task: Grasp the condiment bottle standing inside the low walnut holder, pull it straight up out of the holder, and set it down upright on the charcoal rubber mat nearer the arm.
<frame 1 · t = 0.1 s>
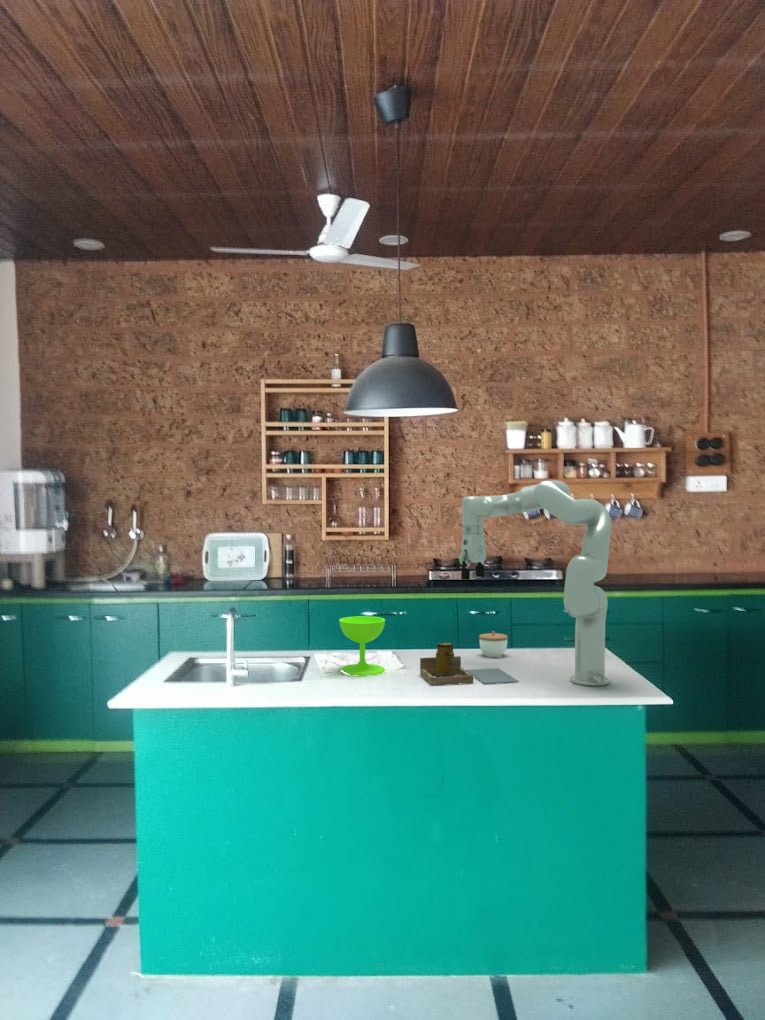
hand: (472, 578, 305), 31 cm above the countertop, tool pointing down, fingers open, 9 cm apart
mat: (491, 676, 286), on the countertop
lidded jar: (493, 656, 320), on the countertop
holder: (446, 679, 282), on the countertop
condiment: (446, 680, 282), resting in holder
wineglass: (362, 671, 295), on the countertop
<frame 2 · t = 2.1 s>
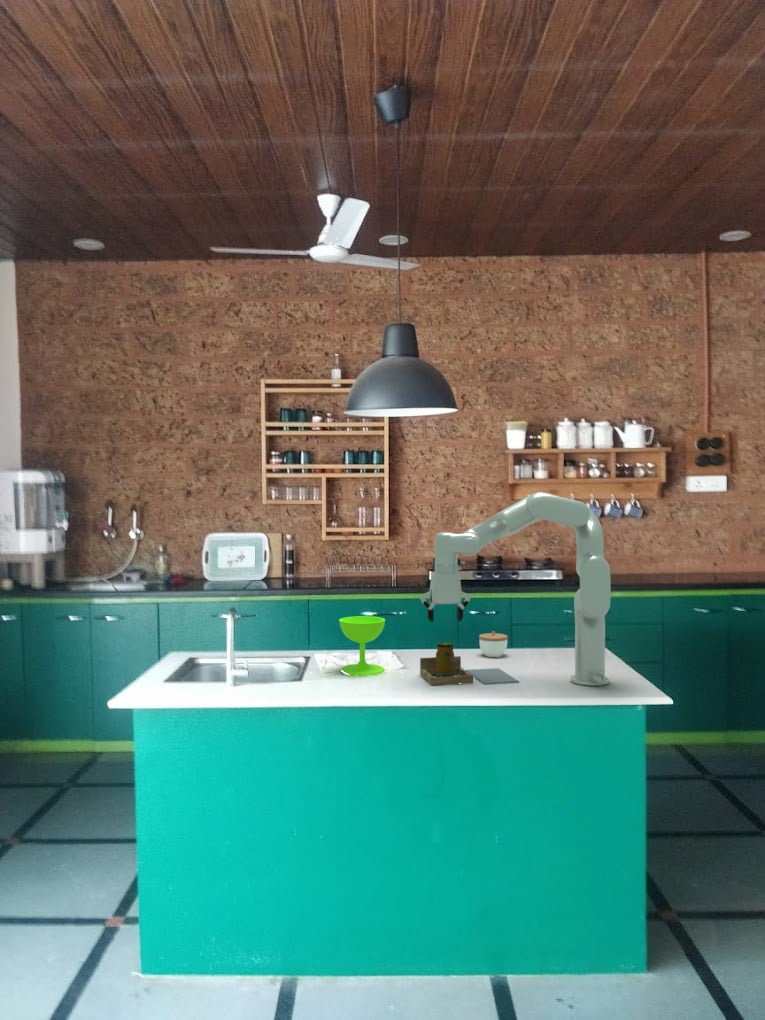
hand: (445, 621, 281), 20 cm above the countertop, tool pointing down, fingers open, 9 cm apart
nothing on the countertop moved.
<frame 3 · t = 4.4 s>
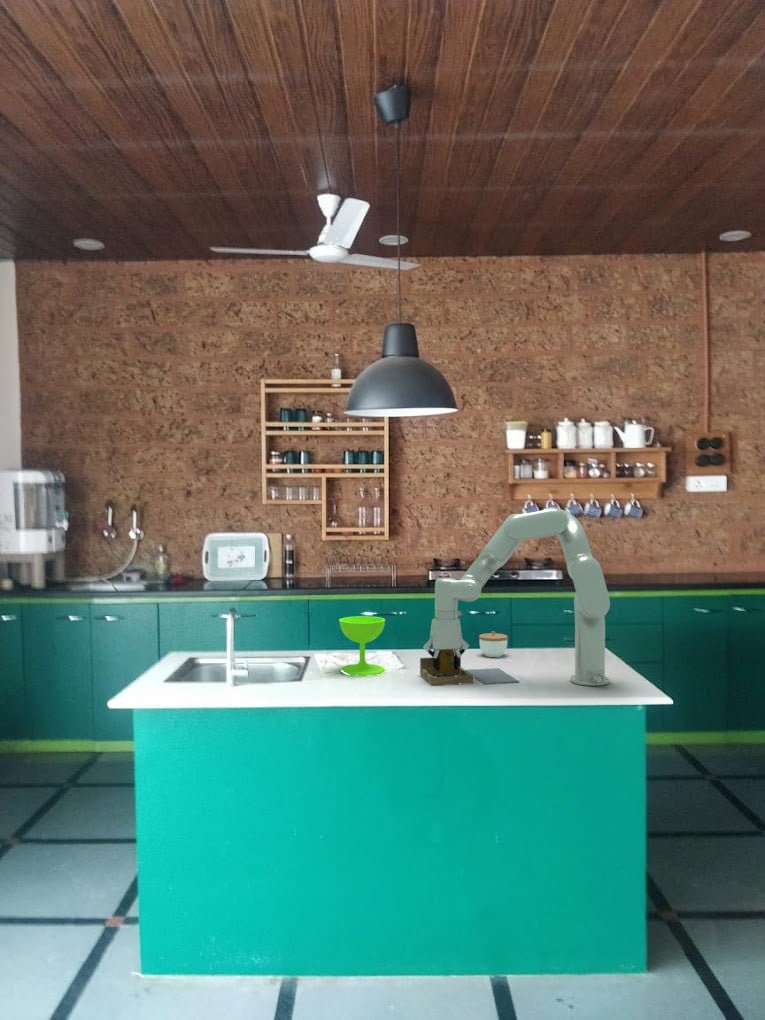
hand: (446, 668, 281), 4 cm above the countertop, tool pointing down, fingers closed on condiment, 6 cm apart
condiment: (446, 680, 282), resting in holder, touching gripper
everything else where it was.
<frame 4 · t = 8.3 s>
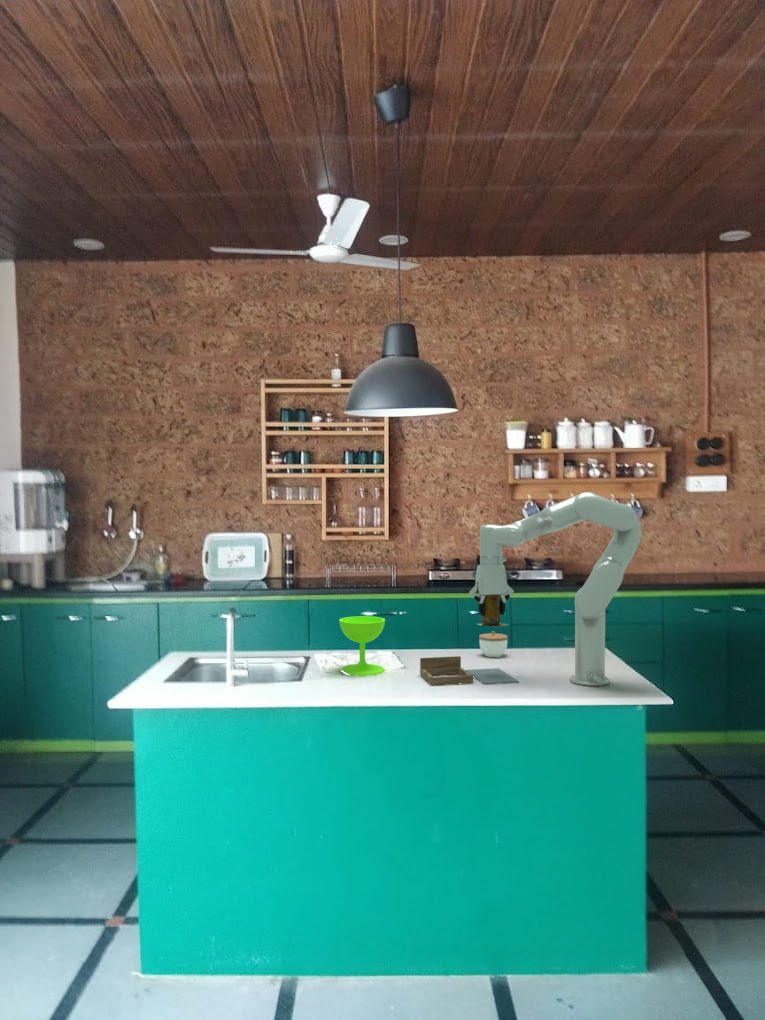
hand: (491, 614, 285), 21 cm above the countertop, tool pointing down, fingers closed on condiment, 6 cm apart
condiment: (492, 625, 285), point 17 cm above the countertop, touching gripper
everything else where it was.
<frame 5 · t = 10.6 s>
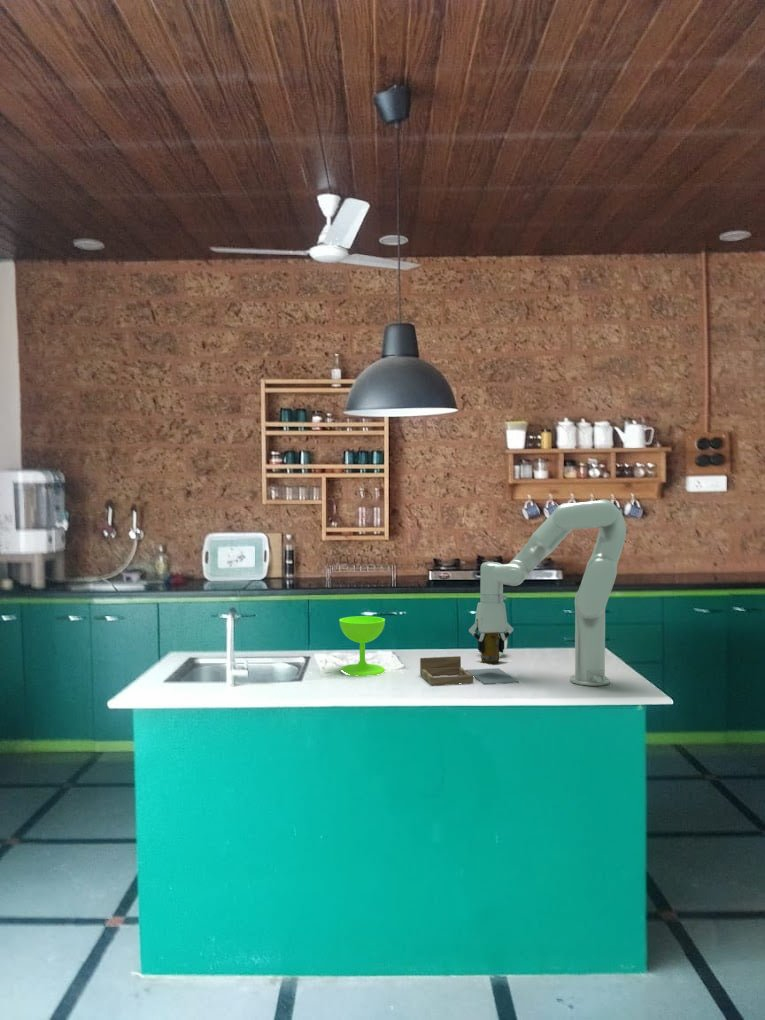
hand: (491, 651, 285), 8 cm above the countertop, tool pointing down, fingers closed on condiment, 6 cm apart
condiment: (491, 663, 286), point 5 cm above the countertop, touching gripper
everything else where it was.
when the fingers open (5 cm above the countertop, at t = 12.3 s): condiment stays where it is, resting on mat.
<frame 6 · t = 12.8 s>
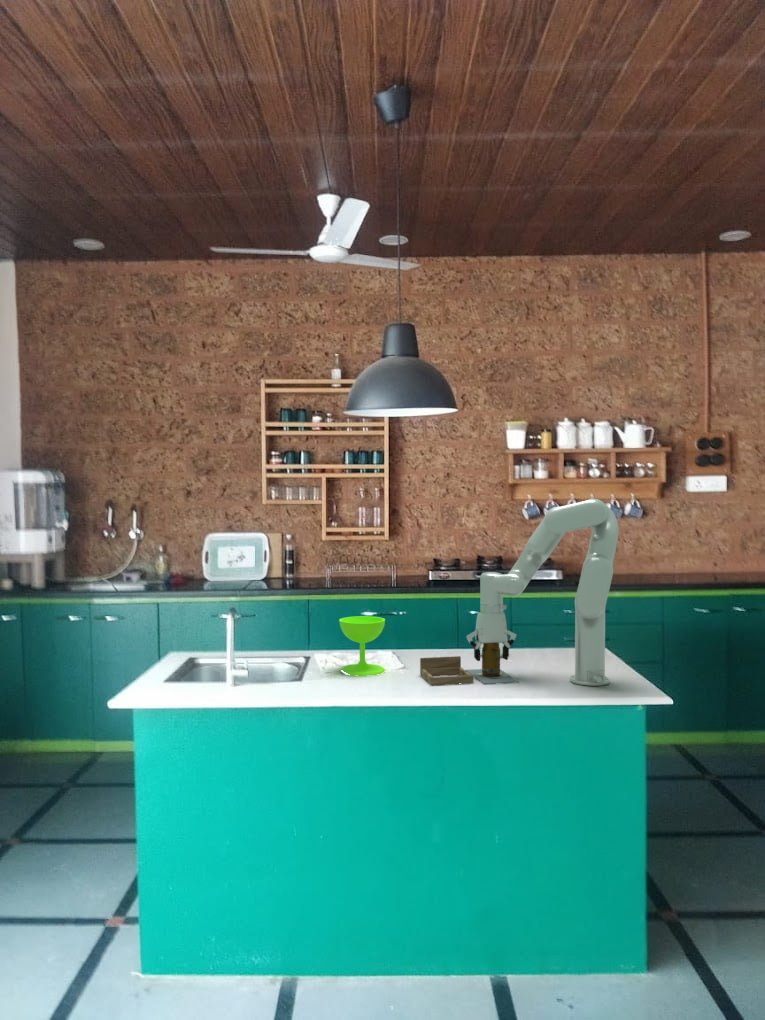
hand: (491, 659, 286), 6 cm above the countertop, tool pointing down, fingers open, 9 cm apart
condiment: (492, 675, 286), resting on mat
everything else where it was.
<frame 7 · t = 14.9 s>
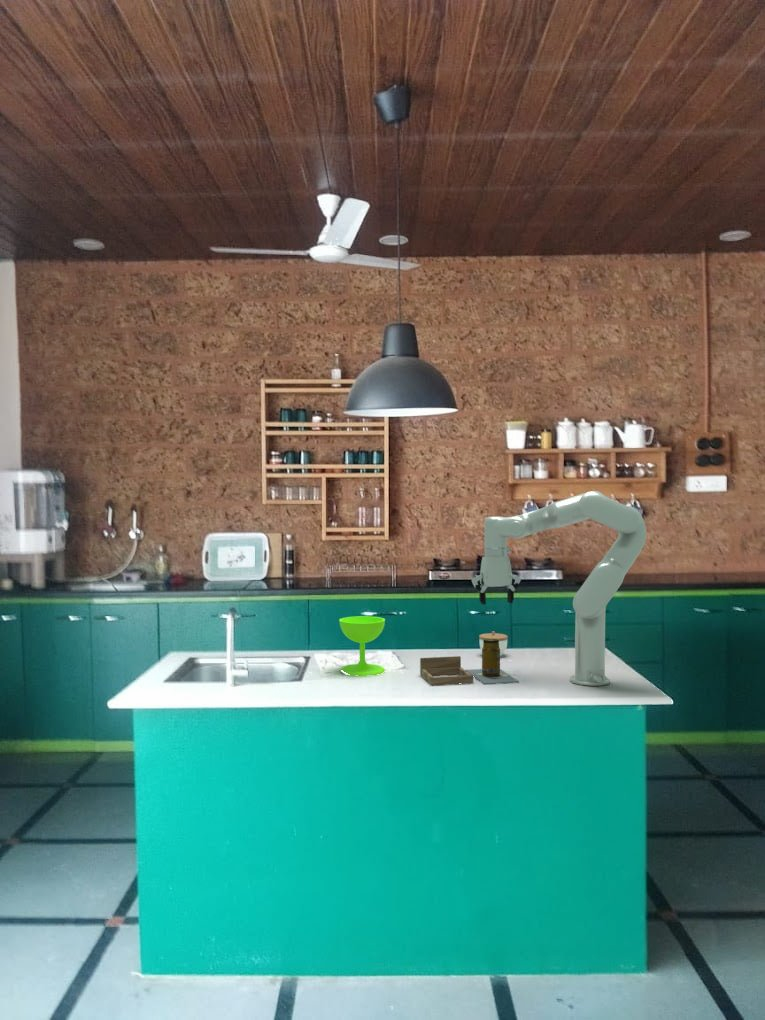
hand: (496, 603, 287), 25 cm above the countertop, tool pointing down, fingers open, 9 cm apart
nothing on the countertop moved.
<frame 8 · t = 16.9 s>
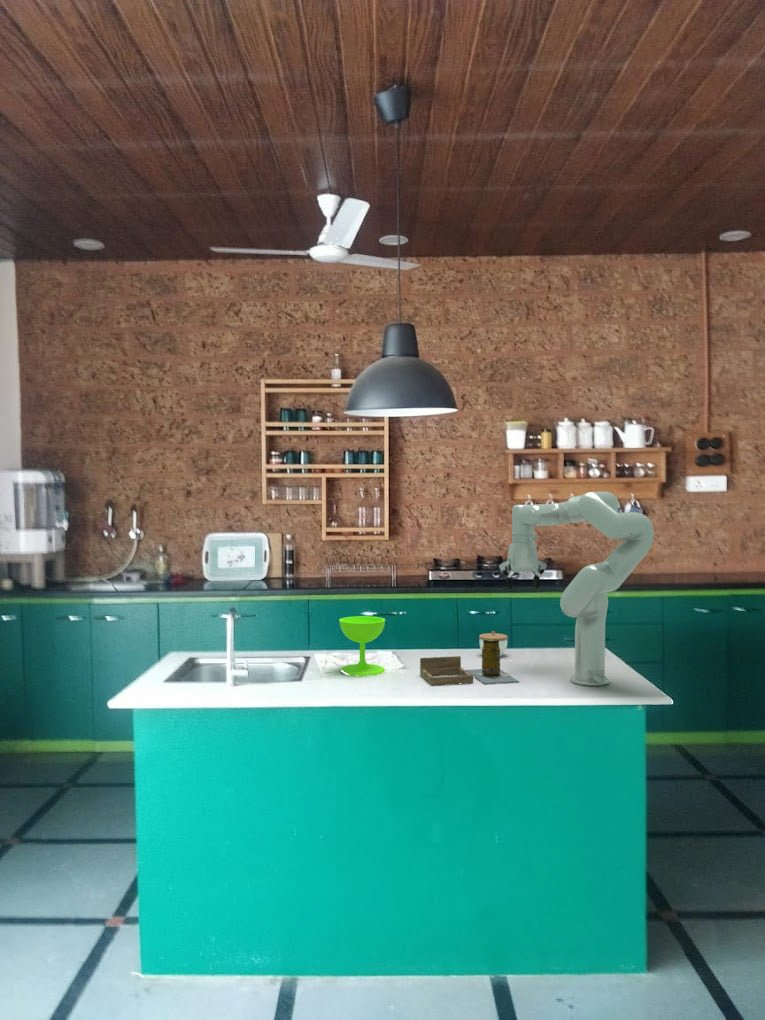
hand: (522, 588, 298), 28 cm above the countertop, tool pointing down, fingers open, 9 cm apart
nothing on the countertop moved.
at the end: condiment inside the target area on the mat (0.4 cm from its centre), point 0.3 cm above the mat's base; condiment tilted 0°; the gripper is holding nothing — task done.
